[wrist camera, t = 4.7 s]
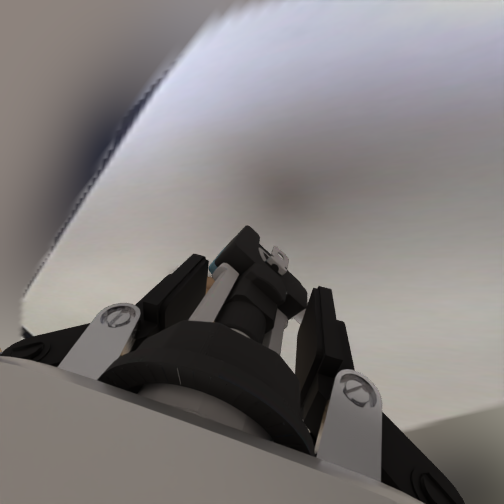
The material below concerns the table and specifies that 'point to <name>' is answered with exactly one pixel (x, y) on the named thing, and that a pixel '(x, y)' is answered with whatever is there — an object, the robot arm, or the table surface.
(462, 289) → the table surface
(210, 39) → the table surface
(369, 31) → the table surface
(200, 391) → the push button
